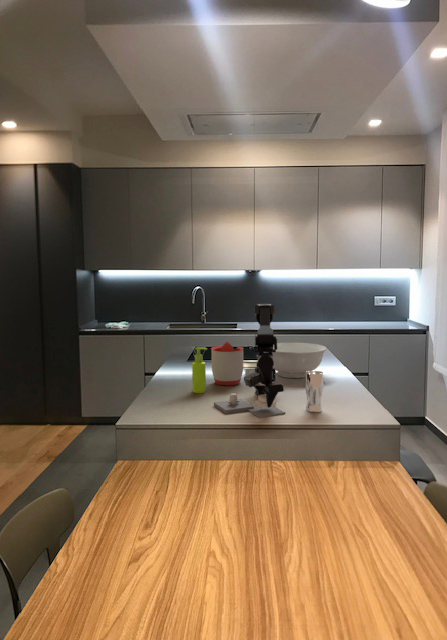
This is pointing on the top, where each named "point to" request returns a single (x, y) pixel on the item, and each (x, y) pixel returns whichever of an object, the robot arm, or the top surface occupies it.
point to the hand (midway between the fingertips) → (265, 405)
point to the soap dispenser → (199, 373)
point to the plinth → (233, 405)
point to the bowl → (297, 358)
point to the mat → (266, 411)
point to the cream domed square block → (263, 402)
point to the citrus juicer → (227, 364)
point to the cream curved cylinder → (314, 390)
